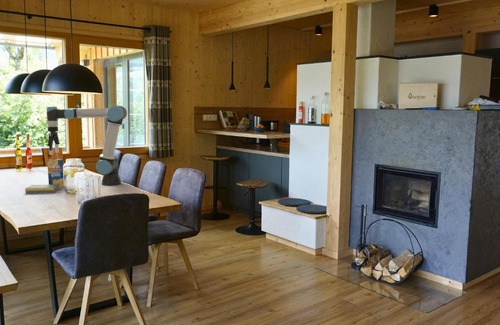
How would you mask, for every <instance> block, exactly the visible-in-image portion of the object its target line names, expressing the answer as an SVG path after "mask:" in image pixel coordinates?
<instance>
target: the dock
mask: <svg viewBox="0 0 500 325" xmlns="http://www.w3.org/2000/svg"><path fill="white" fill-rule="evenodd" d="M24 188H25V189H24V190H25V194H30V195H31V194H55V193H56V192H58V191H60V189H61V188H59V184H53V185H49V184H31V185H28V186H27V187H24Z"/></svg>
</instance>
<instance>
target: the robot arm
mask: <svg viewBox="0 0 500 325" xmlns="http://www.w3.org/2000/svg"><path fill="white" fill-rule="evenodd" d="M127 114H128V112H127V109H126V108H125V107H124V106H123V105H112V106H110V107H108V108H107V107H105V108H103V107H102V108H101V107H100V108H99V107H96V108H95V107H94V108H58V106H55V105H52V106H51V105H50V106H49V105H48V106H47V107H46V124H47V132H48V140H47V147H48V152H49V154H48V155H50V156H51V155H54V153H57V154H59V153H60V150H59V149H60V148H59V147H60V145H61V143H60V139H59V134H58V132H59V121H58V120H59V119H62V120H64V119H68V120H70V119H106V123H107V128H106V134H105V139H104V142H103V148H102V153H101V154H100V155H99V158H98V161H97V162H96V165H95V169H96V171H97V172H98V173H99V174H101V175H102V179H101V185H102V186H117V185H118V186H119V185H120V184H122V181H121V177H120V175H119V158H118V155H115V152H116V151H115V150H116V145H117V140H118V136H119V131H120V127H121V126H122V125H123V123H124V120H125V119H126V118H127Z"/></svg>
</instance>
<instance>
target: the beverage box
mask: <svg viewBox="0 0 500 325" xmlns="http://www.w3.org/2000/svg"><path fill="white" fill-rule="evenodd" d="M46 164H47V175H48V185H53V184H59V188H60V189H63V187H64V188H65V178H64V175H65V174H64V159H63V158H52V159H51V158H49V159H48V158H47V161H46Z"/></svg>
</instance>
